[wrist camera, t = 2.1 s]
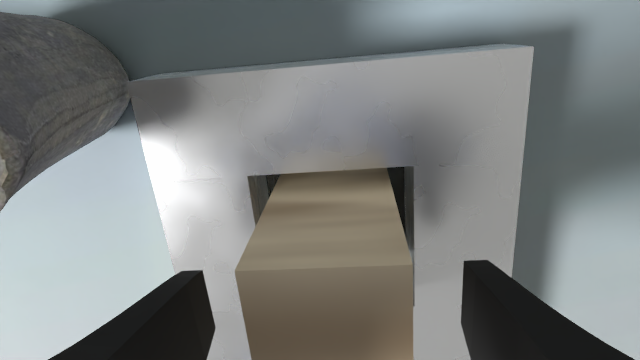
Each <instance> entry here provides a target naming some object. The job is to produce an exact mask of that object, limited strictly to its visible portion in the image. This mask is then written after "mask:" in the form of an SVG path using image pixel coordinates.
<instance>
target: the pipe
mask: <svg viewBox="0 0 640 360" xmlns="http://www.w3.org/2000/svg"><path fill="white" fill-rule="evenodd" d="M128 81H129V79H128V76H127V73H126V72H125V70H124V68H123V67H122V65H121V63H120V62H119V60H118V59H117V58H116V57H115V56H114V55H113V53H112V52H111V51H110V50H108V49H107V48H106V47H105V46H104V45H103V44H102V43H101V42H100V41H98V40H97V39H96V38H95V37H93V36H91V35H90V34H88V33H86V32H84V31H82V30H81V29H79V28H77V27H75V26H73V25H71V24H68V23H65V22H63V21H60V20H56V19H51V18H46V17H40V16H34V15H19V14H11V13H3V12H0V211H1V210H2V209H3V208H4V206H5V205H6V203H7V202H8V200H9V199H10V198H11V197H12V196H13V195H14V194H15V193H16V192H17V191H19V190H20V189H21V188H22V187H23V186H25V185H26V184H27V183H28V182H29V181H31V180H32V179H33V178H35V177H36V176H37V175H39V174H40V173H41V172H43V171H44V170H45V169H47V168H49V167H50V166H52V165H53V164H55V163H56V162H58V161H60V160H61V159H63V158H65V157H66V156H68V155H70V154H71V153H73V152H75V151H77V150H78V149H80V148H82V147H83V146H85V145H87V144H88V143H90V142H92V141H93V140H95V139H97V138H99V137H100V136H102V135H104V134H105V133H106V132H107V131H109V130H110V129H111V128H112V127H113V126H114V125H115V124H116V123H117V121H118V120H119V118H120V117H121V116H122V114H123V113H124V111H125V109H126V107H127V106H128V103H129V100H130V96H129V92H128V88H127V84H126V82H128Z"/></svg>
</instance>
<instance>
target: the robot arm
mask: <svg viewBox="0 0 640 360" xmlns="http://www.w3.org/2000/svg"><path fill="white" fill-rule="evenodd" d="M461 326H462V329H463V333H464V337H465V341H466V344H467V348H468V351H469V355H470V358H471V360H634V359H633V358H631V357H629V356H627V355H626V354H624V353H622V352H620V351H619V350H617V349H615V348H613V347H612V346H610V345H608V344H606V343H605V342H603V341H601V340H600V339H598V338H597V337H595V336H593V335H592V334H590V333H589V332H587V331H586V330H584V329H582V328H581V327H579V326H578V325H576V324H575V323H573V322H572V321H570V320H569V319H567V318H566V317H564V316H563V315H561V314H560V313H558V312H557V311H556V310H554V309H553V308H551V307H550V306H548V305H547V304H546V303H544V302H543V301H542V300H540V299H539V298H537V297H536V296H535V295H533V294H532V293H531V292H529V291H528V290H527V289H525V288H524V287H523V286H521V285H520V284H519V283H518V282H516V281H515V280H514V279H512V278H511V277H510V276H508V275H507V274H506V273H505V272H503V271H502V270H501V269H499V268H498V267H497V266H495V265H494V264H493V263H491V262H490V261H489V260H469V261H464V265H463V286H462V307H461ZM215 329H216V327H215V323H214V318H213V314H212V309H211V305H210V301H209V296H208V292H207V288H206V283H205V279H204V274H203V270H191V271H181V272H179V273H178V274H176V275H174V276H173V277H171V278H170V279H168V280H167V281H166V282H164V283H163V284H161V285H160V286H158V287H157V288H156V289H154V290H153V291H152V292H150V293H149V294H147V295H146V296H145V297H143V298H142V299H140V300H139V301H138V302H136V303H135V304H133V305H132V306H131V307H129V308H128V309H126V310H125V311H124V312H122V313H121V314H119V315H118V316H116V317H115V318H113V319H112V320H110V321H109V322H107V323H106V324H104V325H103V326H101V327H100V328H98V329H97V330H95V331H94V332H92V333H91V334H89V335H88V336H86V337H85V338H83V339H82V340H80V341H79V342H77V343H76V344H74V345H72V346H71V347H69V348H67V349H66V350H64V351H62V352H61V353H59V354H57V355H55V356H54V357H52V358H50V359H48V360H207V357H208V353H209V350H210V347H211V343H212V340H213V336H214V332H215Z"/></svg>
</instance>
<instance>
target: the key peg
mask: <svg viewBox="0 0 640 360" xmlns="http://www.w3.org/2000/svg"><path fill="white" fill-rule="evenodd" d="M235 277H236V282H237V287H238V292H239V297H240V302H241V308H242V313H243V318H244V323H245V328H246V334H247V339H248V344H249V349H250V354H251V359H252V360H413V263H412V260H411V256H410V252H409V249H408V245H407V241H406V237H405V234H404V230H403V226H402V222H401V219H400V215H399V211H398V208H397V204H396V200H395V196H394V193H393V189H392V185H391V182H390V178H389V174H388V170H387V168H371V169H355V170H338V171H321V172H305V173H288V174H280V176H279V178H278V180H277V183H276V185H275V187H274V189H273V191H272V193H271V195H270V197H269V199H268V202H267V204H266V206H265V208H264V210H263V212H262V214H261V216H260V218H259V220H258V223H257V225H256V227H255V229H254V231H253V233H252V235H251V237H250V239H249V242H248V244H247V246H246V248H245V250H244V252H243V254H242V256H241V258H240V261H239V263H238V265H237V267H236V269H235Z"/></svg>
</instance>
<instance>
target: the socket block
mask: <svg viewBox="0 0 640 360" xmlns="http://www.w3.org/2000/svg"><path fill="white" fill-rule="evenodd" d="M533 53H534V46H523V45H512V44H491V45H480V46H468V47H457V48H446V49H434V50H423V51H412V52H400V53H389V54H377V55H366V56H355V57H343V58H332V59H321V60H309V61H298V62H287V63H275V64H264V65H253V66H241V67H230V68H218V69H207V70H196V71H184V72H173V73H162V74H158V75H153V76H149V77H145V78H140V79H136V80H132V81H128V82H126V84H127V88H128V92H129V96H130V99H131V103H132V107H133V111H134V115H135V119H136V123H137V127H138V131H139V135H140V139H141V142H142V146H143V150H144V154H145V158H146V162H147V166H148V170H149V174H150V178H151V182H152V185H153V189H154V193H155V197H156V201H157V205H158V209H159V213H160V217H161V221H162V225H163V228H164V232H165V236H166V240H167V244H168V248H169V252H170V256H171V260H172V264H173V268H174V271H175V275H176V274H178V273H179V272H181V271H191V270H203V274H204V279H205V283H206V288H207V292H208V296H209V301H210V305H211V309H212V314H213V318H214V323H215V327H216V329H215V332H214V336H213V340H212V343H211V347H210V350H209V353H208V357H207V360H252V359H251V354H250V349H249V344H248V339H247V334H246V328H245V323H244V318H243V313H242V308H241V302H240V297H239V292H238V287H237V282H236V277H235V269H236V267H237V265H238V263H239V261H240V258H241V256H242V254H243V252H244V250H245V248H246V246H247V244H248V242H249V239H250V237H251V235H252V233H253V231H254V229H255V227H256V225H257V223H258V220H259V218H260V216H261V214H262V212H263V210H264V208H265V206H266V204H267V202H268V199H269V193H268V186H267V180H266V175H272V174H288V173H305V172H321V171H338V170H355V169H371V168H388V167H404V191H405V237H406V241H407V245H408V249H409V252H410V256H411V260H412V263H413V360H471V358H470V355H469V351H468V348H467V344H466V341H465V337H464V333H463V329H462V326H461V307H462V286H463V265H464V261H469V260H489V261H490V262H491V263H493V264H494V265H495V266H497V267H498V268H499V269H501V270H502V271H503V272H505V273H506V274H507V275H508V276H510V277H511V278H512V269H513V259H514V248H515V238H516V228H517V218H518V207H519V197H520V187H521V176H522V166H523V156H524V146H525V135H526V125H527V115H528V104H529V94H530V84H531V73H532V63H533Z"/></svg>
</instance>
